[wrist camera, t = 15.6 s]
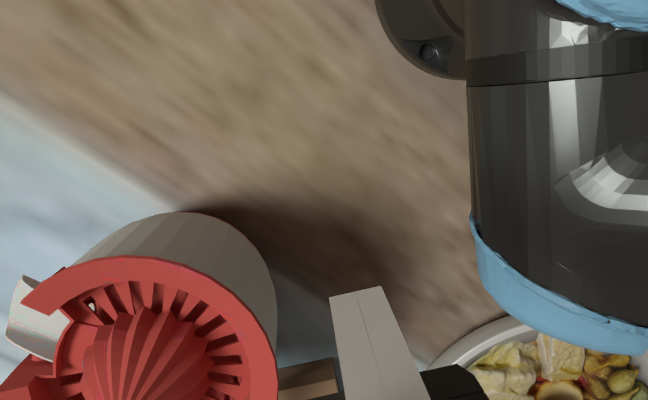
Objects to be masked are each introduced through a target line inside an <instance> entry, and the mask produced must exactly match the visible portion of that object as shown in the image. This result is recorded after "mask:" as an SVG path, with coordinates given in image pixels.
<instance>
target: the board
mask: <svg viewBox="0 0 648 400" xmlns="http://www.w3.org/2000/svg"><path fill="white" fill-rule="evenodd" d="M278 375H279V392H278V400H307V399H311V398H316V397H320V396H325V395H329V394H333V393H338V392H339V389H338V384H337V380H336V375H335V371H334V366H333V362H332V358H327V359H323V360H318V361H313V362H309V363H304V364H300V365H295V366H290V367H286V368H281V369H278Z"/></svg>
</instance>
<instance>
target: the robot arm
mask: <svg viewBox="0 0 648 400" xmlns="http://www.w3.org/2000/svg"><path fill="white" fill-rule="evenodd" d="M375 4H376V9H377V13H378V16H379V19H380V22H381V24H382V27H383V29H384V31H385V33H386V35H387V37H388V38H389V40H390V41H391V43H392V44H393V45H394V47H395V48H396V49H397V50H398V52H399V53H400V54H401V55H402V56H403V57H404V58H405V59H407V60H408V61H409V62H410V63H412V64H413V65H414V66H416V67H418V68H419V69H421V70H423V71H425V72H427V73H429V74H432V75H434V76H438V77H441V78H446V79H452V80H466V83H467V84H466V85H467V86H466V96H467V113H468V136H469V159H470V182H471V205H472V209H471V213H470V216H469V222H470V228H471V231H472V234H473V236H474V237H475V245H476V254H477V264H478V271H479V275H480V278H481V281H482V283H483V285H484V287H485V289H486V290H487V291H488V292H489V293H490V294H491V295H492V296H493V298H494V299H495V300H496V302H497V304H498V305H499V306H500V307H501V308H502V309H503V310H505V311H506V312H507V313H508V314H510V315H511V316H513V317H514V318H515V319H517V320H518V321H520V322H522V323H523V324H525V325H527V326H528V327H530V328H532V329H534V330H536V331H538V332H540V333H542V334H545V335H547V336H550V337H552V338H555V339H557V340H560V341H563V342H566V343H569V344H572V345H575V346H579V347H582V348H586V349H590V350H595V351H600V352H605V353H611V354H619V355H630V356H641V355H643V354H644V353H645V351H646V350H648V0H375ZM329 302H330V308H331V314H332V320H333V326H334V332H335V338H336V344H337V350H338V356H339V362H340V368H341V374H342V380H343V386H344V391H342V392H338V393H333V394H329V395H325V396H320V397H316V398H311V399H307V400H489V398H488V396H487V395H486V393H484V390H483V388H482V387H481V385H480V384H479V382H478V380H477V379H476V377H475V376H474V374H472V373H470V372H469V371H467V370H466V369H464V368H463V367H461V366H460V365H458V364H453V365H449V366H444V367H440V368H436V369H431V370H427V371H422V372H419V371H418V369H417V367H416V364H415V362H414V360H413V358H412V355H411V353H410V351H409V348H408V346H407V344H406V342H405V339H404V337H403V335H402V332H401V330H400V328H399V326H398V323H397V321H396V319H395V316H394V314H393V312H392V310H391V307H390V305H389V303H388V300H387V298H386V296H385V294H384V291H383V289H382V287H381V286H377V287H373V288H368V289H364V290H359V291H355V292H351V293H346V294H342V295H337V296H333V297H329Z"/></svg>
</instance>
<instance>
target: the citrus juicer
mask: <svg viewBox="0 0 648 400" xmlns="http://www.w3.org/2000/svg"><path fill="white" fill-rule="evenodd" d="M277 323H278V312H277V302H276V295H275V288H274V285H273V282H272V279H271V277H270V274H269V271H268V269H267V266H266V263H265V262H264V260H263V258H262V257H261V255H260V254H259V252H258V250H257V249H256V247H255V245H254V244H253V243H252V242H251V241H250V240H249V239H248V237H247V236H246V235H245V234H244V233H243V232H241V231H240V230H239V229H237V228H236V227H235V226H233V225H232V224H230V223H228V222H226V221H224V220H222V219H220V218H218V217H216V216H212V215H208V214H204V213H200V212H188V211H181V212H172V213H164V214H158V215H154V216H151V217H148V218H144V219H141V220H138V221H135V222H132V223H130V224H128V225H127V226H125V227H123V228H121V229H119V230H118V231H116V232H114V233H113V234H111V235H109V236H108V237H106V238H105V239H103V240H102V241H101V242H99V243H98V244H97V245H96V246H94V247H93V248H92V249H91V250H90V251H88V252H87V253H86V254H85V255H83V256H82V257H81V258H80V259H79V260H77V261H76V262H75V263H74V264H72V265H71V266H70V267H68V268H65V267H63V268H61V269H60V270H59V271H58V272H56V273H55V274H54V275H53V276H51V277H50V278H48V279H46V280H44V281H43V282H38V281H36V280H34V279H32V278H29V277H27V276H25V275H23V276H22V277H21V279H20V280H19V282H18V284H17V287H16V289H15V291H14V294H13V297H12V301H11V306H10V312H9V320H8V326H7V330H6V335H5V337H6V339H7V340H8V341H9V342H11V343H12V344H14V345H15V346H17V347H19V348H21V349H23V350H25V351H27V352H29V353H30V354H29V355H28V356H27V357H26V358H25V359H24V360H23V361H22V362H21V363H20V364H19V365H18V366H17V367H16V369H15V370H14V371H13V372H12V373H11V374H10V375H9V376H8V378H7V379H6V380H5V381H4V382H3V383H2V384H1V385H0V400H278V392H279V375H278V369H277V362H276V340H277Z"/></svg>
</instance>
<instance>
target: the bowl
mask: <svg viewBox="0 0 648 400" xmlns="http://www.w3.org/2000/svg"><path fill="white" fill-rule="evenodd" d="M453 364H458V365H460V366H461V367H463V368H464V369H466V370H467V371H469V372H470V373H472V374H474V376H475V377H476V379H477V380H478V382H479V384H480V385H481V387H482V388H483V390H484V393H486V395H487V396H488V398H489V400H648V350H646V351H645V353H644V354H643V355H641V356H630V355H619V354H611V353H605V352H600V351H595V350H590V349H586V348H582V347H579V346H575V345H572V344H569V343H566V342H563V341H560V340H557V339H555V338H552V337H550V336H547V335H545V334H542V333H540V332H538V331H536V330H534V329H532V328H530V327H528V326H527V325H525V324H523V323H522V322H520V321H518V320H517V319H515V318H514V317H513V316H511V315H510V316H507V317H504V318H501V319H498V320H496V321H493V322H491V323H489V324H486V325H484V326H482V327H480V328H478V329H476V330H475V331H473V332H471V333H470V334H468V335H466V336H465V337H463V338H462V339H460V340H459V341H457V342H456V343H455V344H453V345H452V346H451V347H450V348H448V349H447V350H446V351H445V352H444V353H443V354H441V355H440V356H439V357H438V358H437V359H436V360H435V361H434V362H433V363H432V365H431V366H430V367H429V368H428V369H427V370H431V369H436V368H440V367H444V366H449V365H453ZM427 370H426V371H427Z"/></svg>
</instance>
